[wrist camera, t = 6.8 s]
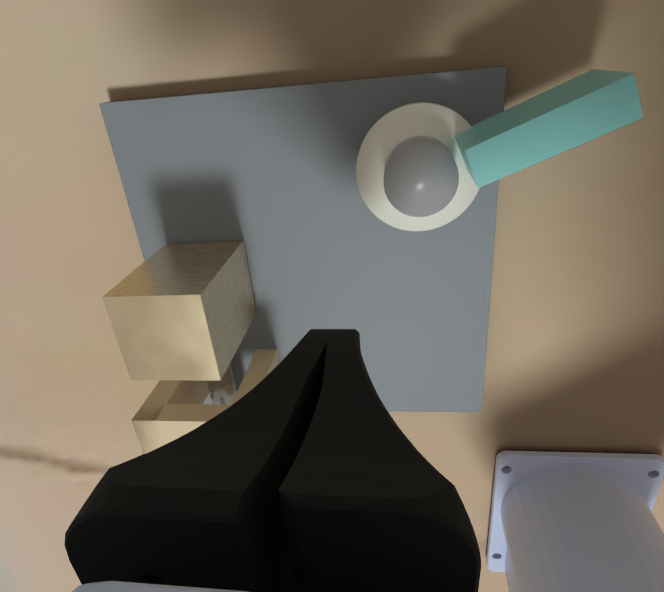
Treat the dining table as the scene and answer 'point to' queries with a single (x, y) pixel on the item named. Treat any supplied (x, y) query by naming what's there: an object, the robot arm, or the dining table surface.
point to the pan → (480, 146)
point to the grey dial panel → (314, 234)
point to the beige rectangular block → (185, 314)
